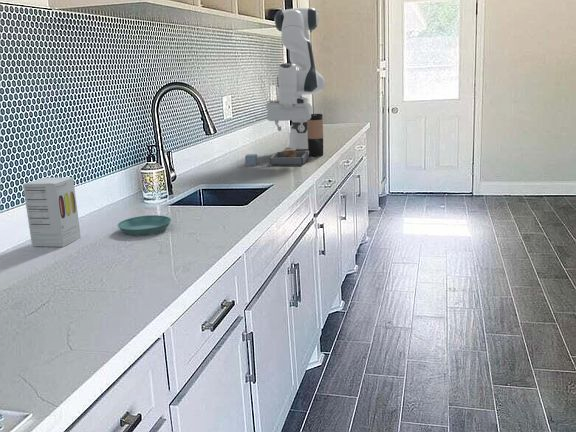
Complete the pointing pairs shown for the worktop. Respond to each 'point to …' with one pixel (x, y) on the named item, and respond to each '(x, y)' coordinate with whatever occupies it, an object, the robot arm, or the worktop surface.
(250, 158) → the slate block
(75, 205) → the supplement box
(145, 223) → the saucer
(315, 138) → the travel mug
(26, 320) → the worktop surface
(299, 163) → the charcoal tray
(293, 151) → the walnut block
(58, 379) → the worktop surface
